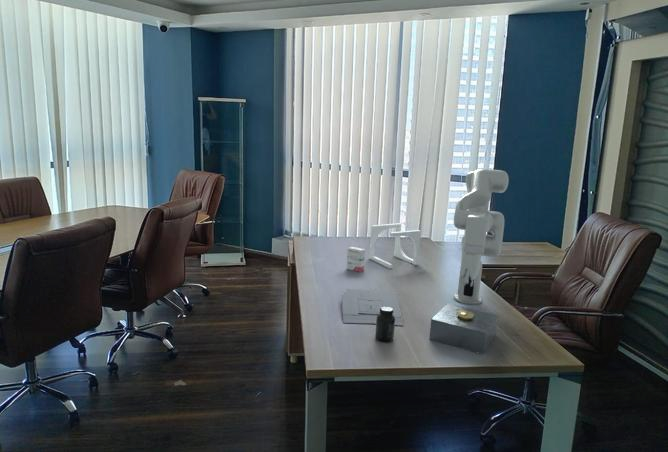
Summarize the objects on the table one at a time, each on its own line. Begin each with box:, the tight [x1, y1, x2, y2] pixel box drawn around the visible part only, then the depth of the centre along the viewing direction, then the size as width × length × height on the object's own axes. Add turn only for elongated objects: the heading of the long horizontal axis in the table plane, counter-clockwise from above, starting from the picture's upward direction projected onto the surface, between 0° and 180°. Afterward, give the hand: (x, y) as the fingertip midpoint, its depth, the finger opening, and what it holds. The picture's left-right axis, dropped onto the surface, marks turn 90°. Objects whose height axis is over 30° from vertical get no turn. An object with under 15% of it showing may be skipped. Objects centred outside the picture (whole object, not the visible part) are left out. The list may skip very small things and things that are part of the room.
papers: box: [341, 288, 404, 327], centre depth 211 cm, size 24×30×4 cm
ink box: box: [346, 246, 366, 273], centre depth 265 cm, size 9×5×12 cm, turn 58°
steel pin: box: [457, 310, 474, 321], centre depth 189 cm, size 6×6×10 cm
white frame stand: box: [368, 222, 422, 269], centre depth 283 cm, size 20×20×20 cm
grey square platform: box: [428, 302, 499, 355], centre depth 189 cm, size 20×20×8 cm
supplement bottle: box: [374, 306, 396, 343], centre depth 183 cm, size 7×7×12 cm
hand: (468, 295), depth 186 cm, fingers closed
